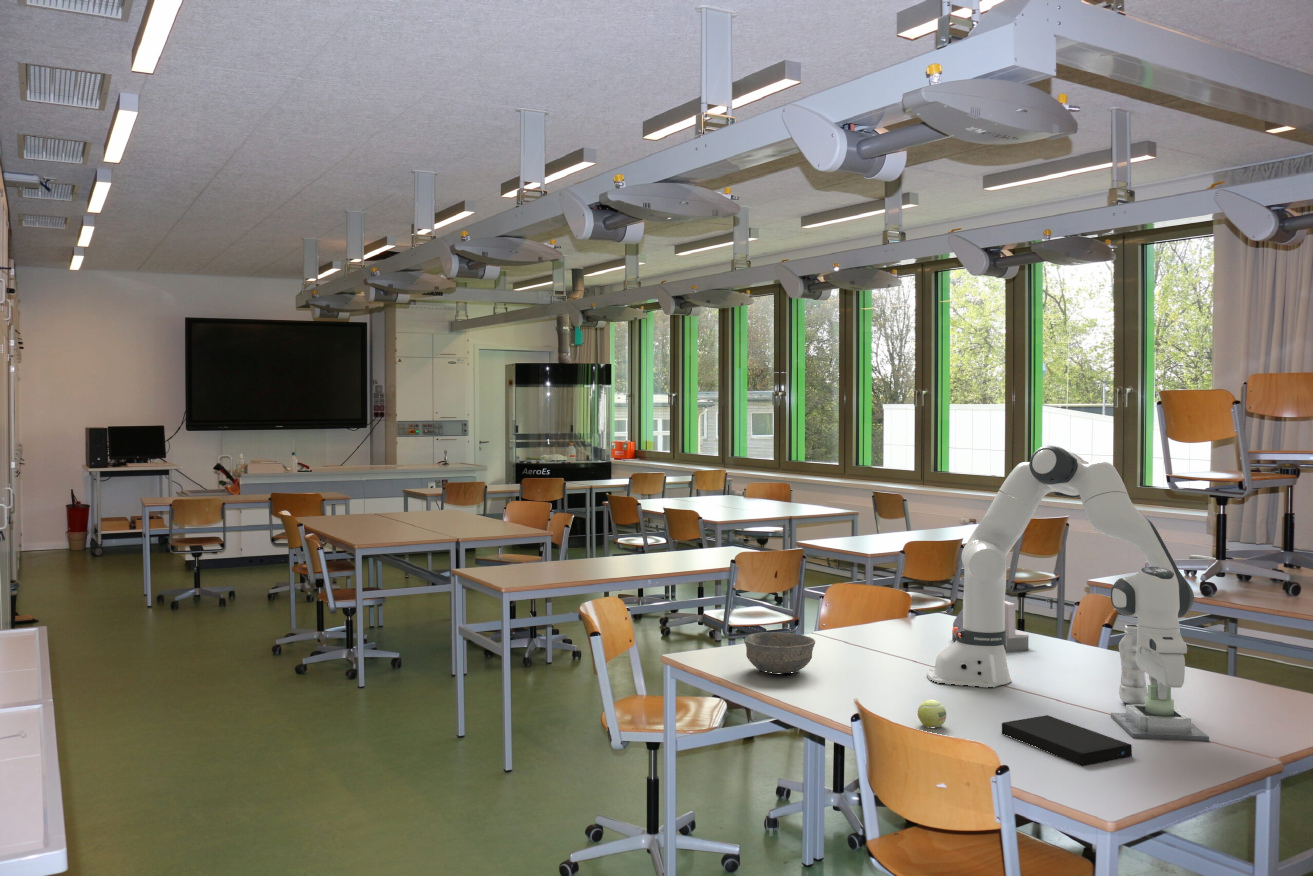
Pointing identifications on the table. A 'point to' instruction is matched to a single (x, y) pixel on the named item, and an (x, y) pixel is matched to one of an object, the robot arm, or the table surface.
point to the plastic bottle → (1131, 669)
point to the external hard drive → (1067, 740)
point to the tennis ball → (932, 713)
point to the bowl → (779, 651)
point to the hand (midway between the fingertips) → (1158, 696)
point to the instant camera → (1014, 637)
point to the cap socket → (1158, 724)
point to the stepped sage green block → (1158, 702)
